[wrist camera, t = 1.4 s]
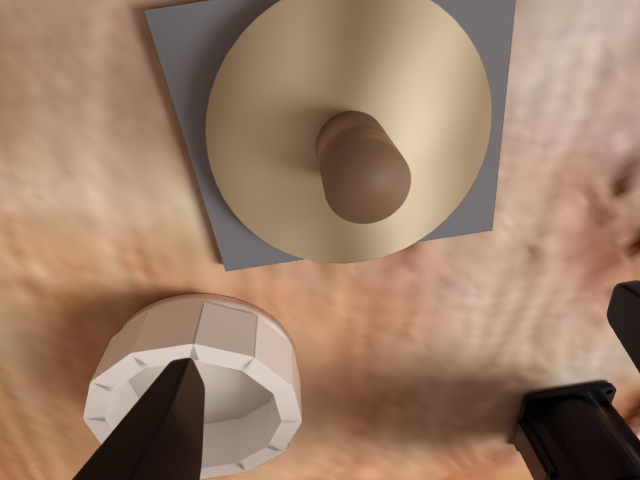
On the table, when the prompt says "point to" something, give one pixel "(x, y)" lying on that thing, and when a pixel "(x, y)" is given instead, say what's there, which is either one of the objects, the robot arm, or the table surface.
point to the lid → (348, 125)
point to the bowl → (207, 376)
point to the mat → (208, 55)
